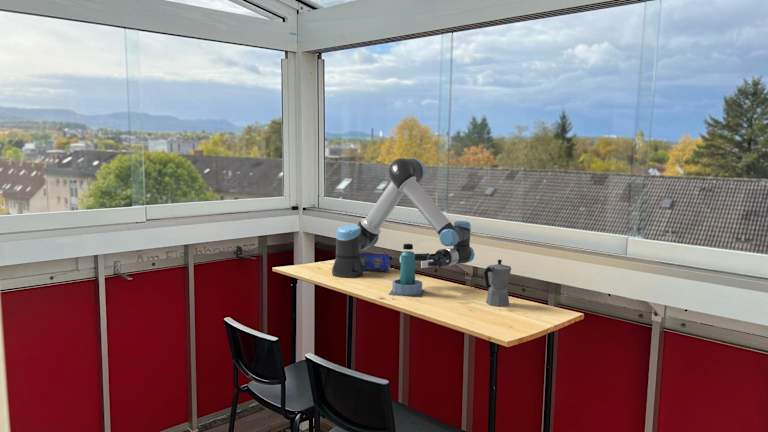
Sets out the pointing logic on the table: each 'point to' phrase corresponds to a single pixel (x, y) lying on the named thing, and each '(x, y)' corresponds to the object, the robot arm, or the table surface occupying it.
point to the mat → (408, 296)
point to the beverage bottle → (407, 266)
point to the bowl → (407, 288)
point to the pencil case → (375, 262)
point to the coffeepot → (497, 284)
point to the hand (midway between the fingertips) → (410, 262)
